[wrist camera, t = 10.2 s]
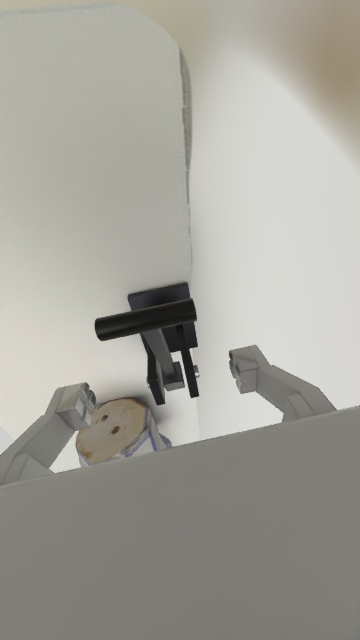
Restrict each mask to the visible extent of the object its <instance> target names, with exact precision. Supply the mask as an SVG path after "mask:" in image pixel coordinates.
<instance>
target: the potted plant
mask: <svg viewBox="0 0 360 640" xmlns="http://www.w3.org/2000/svg"><path fill="white" fill-rule="evenodd" d="M92 415H93V418H92V422H91V426H90V427H89V428H85V429H82V430H79V433H78V435H77V437H76V449H77V452H78V456H79V461H80V465H81V467H86V466H90V465H95V464H99V463H104V462H108V461H113V460H117V459H122V458H126V457H131V456H135V455H140V454H144V453H148V452H153V451H157V450H162V449H166V448H171V447H172V443H171V442H170V441H169V439H167V438H166V437H164V436H163V435H161V434H160V433H159V432H158V429H157V427H156V424H155V421H154V419H153V416H152V413H151V410H150V408H149V407H148V406H147V405H146V404H145V403H143V402H141V401H139V400H137V399H134V398H122V399H118V400H114V401H110V402H108V403H107V404H105V405H103V406H102V407H101V408H99V409H98V410H97V411H94V412H92Z"/></svg>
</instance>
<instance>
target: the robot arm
mask: <svg viewBox="0 0 360 640" xmlns="http://www.w3.org/2000/svg"><path fill="white" fill-rule="evenodd" d="M229 357H230V359H231V360H230V361H229V364H230V369H231V372H232V375H233V377H234V378H235V379H236V384H237V387H238V389H239V391H240V393H241V394H244V393H248V392H254V391H256V392H257V393H258V394H260V395H261V396H262V397H264V398H265V399H266V400H267V401H269V402H270V403H271V404H273V405H274V406H275V407H276V408H278V409H279V410H280V411H282V412H283V413H284V414H283V419H282V423H279V424H274V425H269V426H265V427H261V428H256V429H252V430H247V431H243V432H238V433H234V434H229V435H225V436H220V437H216V438H211V439H207V440H202V441H198V442H193V443H189V444H184V445H180V446H175V447H171V448H166V449H162V450H157V451H153V452H148V453H144V454H140V455H135V456H131V457H126V458H122V459H117V460H113V461H108V462H104V463H99V464H95V465H90V466H86V467H81V468H77V469H72V470H68V471H63V472H59V473H54V472H52V471H51V470H50V469H49V468H50V466H51V465H52V463H53V462H54V461H55V459H56V458H57V456H58V455H59V454H60V452H61V451H62V449H63V448H64V447H65V445H66V444H67V442H68V441H69V440H70V438H71V437H72V435H73V434H74V433H75V432H74V431H78V430H82V429H85V428H89V427H90V426H91V422H92V418H93V415H92V413H91V412H92V411H93V410H94V409H95V405H96V397H95V394H94V392H93V391H91V390H89V385H88V384H87V383H80V384H75V385H70V386H65V387H60V388H58V389H57V390H56V391H55V393H54V395H53V397H52V399H51V402H50V404H49V406H48V408H47V410H46V412H45V415H43V416H41V417H40V418H39V419H38V420H37V421H36V422H34V423H33V424H32V425H31V426H30V427H29V428H28V429H27V430H26V431H25V432H24V433H23V434H22V435H21V436H20V437H19V438H18V439H17V440H16V441H15V442H14V443H13V444H12V445H10V446H9V447H8V448H7V449H6V450H5V451H4V452H3V453H2V454H1V455H0V640H360V405H359V406H355V407H350V408H346V409H342V410H337V409H336V408H335V407H334V406H333V405H332V404H331V402H330V401H329V400H328V399H327V398H326V396H325V395H324V394H323V393H322V392H321V391H320V389H319V388H318V387H316V386H314V385H311V384H310V383H308V382H306V381H304V380H302V379H300V378H298V377H296V376H294V375H292V374H290V373H288V372H286V371H284V370H282V369H280V368H278V367H276V366H274V365H270V364H269V362H268V361H267V360H266V358H265V357H264V355H263V354H262V352H261V351H260V349H259V348H258V347H257V346H256V345H252V346H248V347H244V348H239V349H235V350H231V351H229Z"/></svg>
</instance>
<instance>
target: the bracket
mask: <svg viewBox="0 0 360 640" xmlns="http://www.w3.org/2000/svg"><path fill="white" fill-rule="evenodd" d="M186 299H190V294H189V288H188V284H187V283H182V284H177V285H172V286H168V287H163V288H158V289H154V290H149V291H144V292H139V293H135V294H130V295H128V301H129V304H130V307H131V310H132V311H135V310H139V309H144V308H149V307H153V306H158V305H163V304H167V303H172V302H177V301H181V300H186ZM161 330H162V333H163V335H164V338H165V341H166V344H167V346H168V349H169V352H170V353H172V352H176V351H181V355H182V360H183V365H184V370H185V374H186V379H187V383H188V388H189V392H190V396H191V398H194V397H198V396H199V392H198V387H197V381H196V378H198V377H199V371H198V367H197V365H195V366H193V363H192V359H191V355H190V351H189V349H190V348H194V347H198V344H197V338H196V332H195V325H194V322H189V323H185V324H180V325H175V326H171V327H166V328H162V329H161ZM140 335H141V338H142V341H143V344H144V347H145V349H146V352H147V355H148V376H147V385H148V388H150V389H151V391H152V394H153V396H154V399H155V401H156V404H157V405H162V404H165V393H164V386H163V379H162V372H161V366H160V364H159V362H158V360H157V358H156V357H155V355H154V353H153V351H152V349H151V348H150V346H149V344H148V342H147V341H146V339H145V337H144V335H143V333H140Z"/></svg>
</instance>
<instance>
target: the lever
mask: <svg viewBox="0 0 360 640" xmlns="http://www.w3.org/2000/svg"><path fill="white" fill-rule="evenodd" d="M196 320H197V315H196V310H195V306H194V302H193V299H192V298H191V299H186V300H181V301H177V302H172V303H167V304H163V305H158V306H153V307H149V308H144V309H139V310H135V311H130V312H125V313H121V314H116V315H111V316H107V317H102V318H97V319H96V320H95V331H96V335H97V337H98V339H99V340H100V341H106V340H111V339H115V338H120V337H125V336H129V335H134V334H138V333H143V335H144V337H145V339H146V341H147V342H148V344H149V346H150V348H151V349H152V351H153V353H154V355H155V357H156V358H157V360H158V362H159V364H160V366H161V372H162V379H163V386H164V387H165V388H166V390H167V391H171V390H176V389H180V388H185V384H184V379H183V374H182V369H181V365H180V362H179V361H178V362H173V360H172V357H171V354H170V352H169V349H168V346H167V344H166V341H165V338H164V335H163V333H162V330H161V329H162V328H166V327H171V326H175V325H180V324H185V323H189V322H194V321H196Z"/></svg>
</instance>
